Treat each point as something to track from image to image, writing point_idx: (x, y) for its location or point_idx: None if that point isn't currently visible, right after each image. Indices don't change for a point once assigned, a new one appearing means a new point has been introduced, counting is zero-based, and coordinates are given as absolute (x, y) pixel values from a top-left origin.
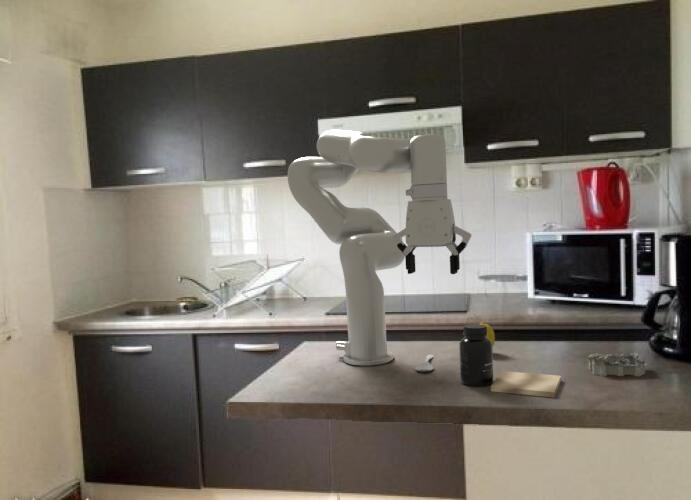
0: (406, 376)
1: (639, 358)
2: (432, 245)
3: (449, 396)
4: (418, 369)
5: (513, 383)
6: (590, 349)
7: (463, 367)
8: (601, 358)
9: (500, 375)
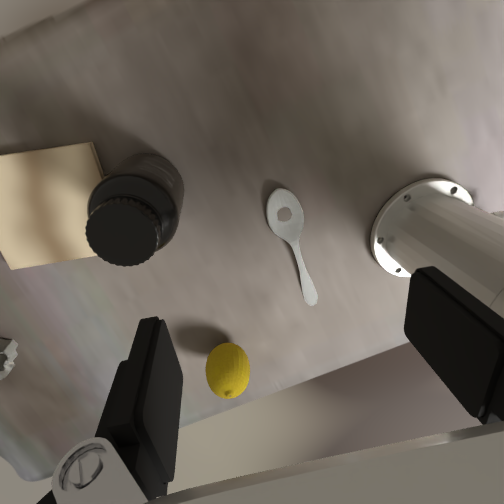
0: (301, 159)
1: None
2: (305, 472)
3: (151, 64)
4: (288, 191)
5: (59, 183)
6: (79, 427)
7: (158, 165)
8: None
9: None
